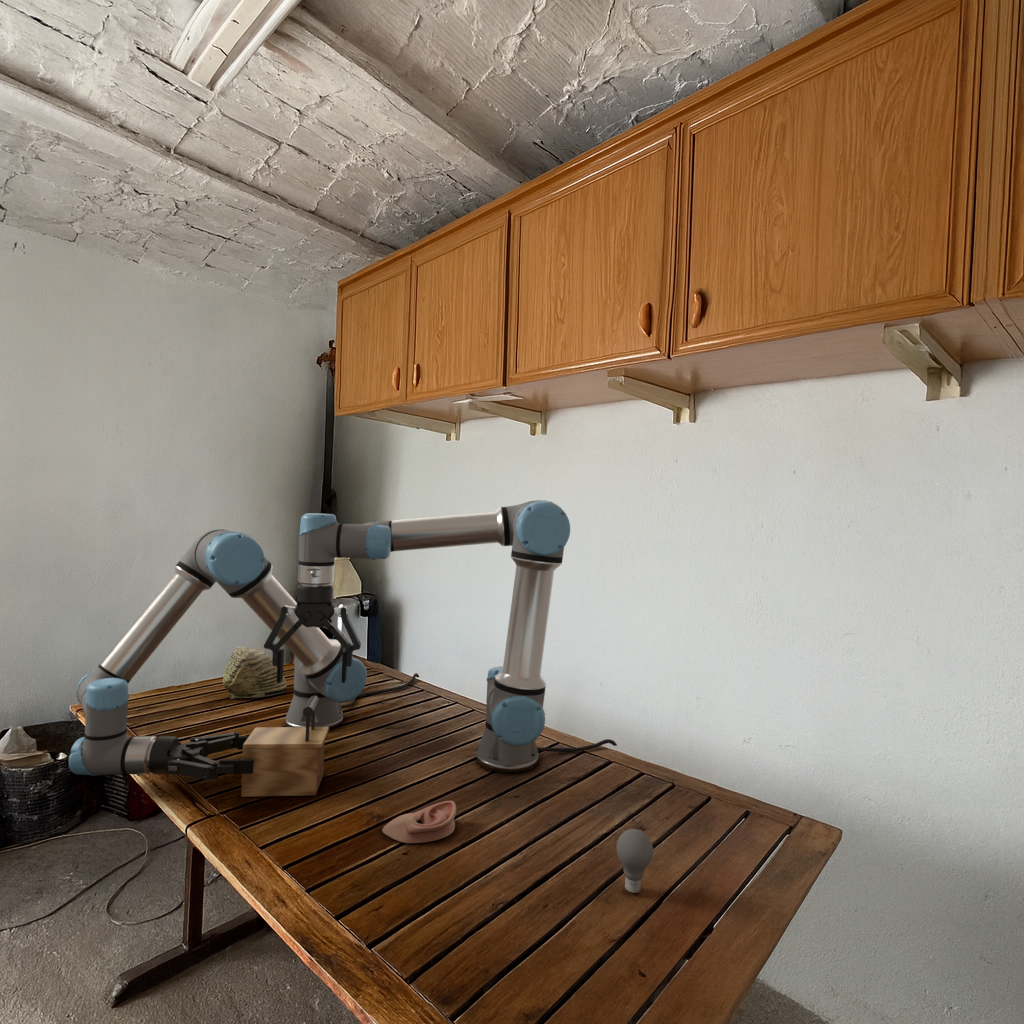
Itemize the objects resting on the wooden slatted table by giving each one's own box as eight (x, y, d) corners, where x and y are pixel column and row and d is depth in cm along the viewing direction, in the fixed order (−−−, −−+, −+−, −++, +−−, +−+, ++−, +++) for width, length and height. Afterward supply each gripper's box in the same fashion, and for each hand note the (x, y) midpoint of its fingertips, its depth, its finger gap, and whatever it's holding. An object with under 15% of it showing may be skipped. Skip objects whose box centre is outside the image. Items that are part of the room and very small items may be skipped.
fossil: (218, 695, 195) (220, 647, 195) (278, 685, 208) (279, 640, 207) (228, 703, 189) (230, 653, 188) (289, 692, 201) (290, 645, 201)
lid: (328, 730, 144) (330, 694, 144) (321, 747, 134) (323, 708, 134) (255, 731, 142) (256, 693, 142) (242, 748, 132) (244, 708, 132)
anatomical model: (376, 817, 118) (399, 790, 129) (375, 838, 118) (398, 809, 129) (444, 828, 115) (461, 799, 127) (443, 849, 115) (461, 819, 127)
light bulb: (610, 879, 108) (613, 822, 108) (644, 879, 109) (647, 822, 109) (619, 902, 102) (622, 840, 102) (655, 901, 103) (658, 840, 103)
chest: (323, 775, 144) (325, 730, 144) (315, 795, 134) (317, 748, 134) (253, 776, 142) (255, 731, 142) (241, 796, 132) (242, 748, 132)
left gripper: (176, 750, 146) (273, 749, 149) (127, 799, 122) (244, 797, 125) (177, 717, 146) (274, 717, 149) (128, 761, 122) (245, 759, 125)
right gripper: (251, 585, 133) (247, 685, 133) (372, 588, 136) (368, 686, 136) (260, 580, 140) (256, 675, 140) (375, 583, 144) (371, 676, 144)
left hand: (260, 753), depth 137 cm, fingers open, 12 cm apart
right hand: (312, 681), depth 138 cm, fingers open, 13 cm apart
